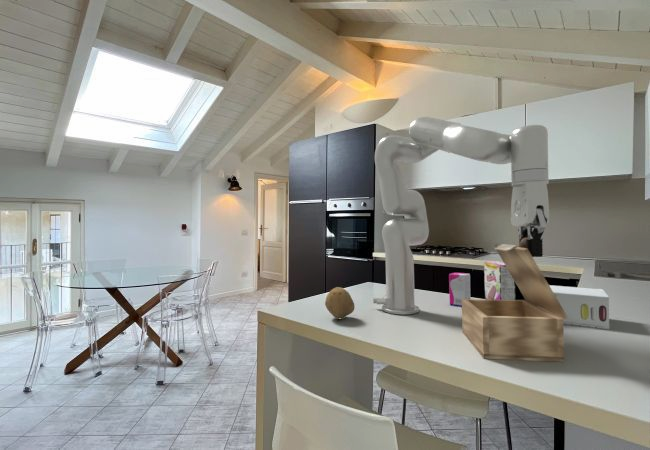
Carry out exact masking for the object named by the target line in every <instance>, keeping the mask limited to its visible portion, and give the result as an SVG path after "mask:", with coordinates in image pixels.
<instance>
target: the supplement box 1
mask: <svg viewBox="0 0 650 450" xmlns="http://www.w3.org/2000/svg"><path fill="white" fill-rule="evenodd" d="M448 283H449V285H448V286H449V288H448V289H449V293H448V294H449V306H454V307H460V308H462V299H472V297H471V296H472V295H471V274H470V273H465V272H452V273H449V274H448Z"/></svg>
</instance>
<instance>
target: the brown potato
mask: <svg viewBox="0 0 650 450" xmlns="http://www.w3.org/2000/svg"><path fill="white" fill-rule="evenodd" d="M324 305H325V308H326V309H327V311H328V312H329V313H330V314H331V315H332V317H333V318H335V319H337V318H343V319H345V318H346V317H347V316H348V315H350V314H352V313H353V312H354V311H355V302H354V300H353V298H352V297H351V295H350V293H349V292H348V291H347V290H346V289H345V288H344V287H341V286H340V287H339V286H336V287H334V288H332V289H331V290H330V291H329V292H328V293H327V295H326V297H325V302H324Z"/></svg>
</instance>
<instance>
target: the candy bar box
mask: <svg viewBox="0 0 650 450" xmlns="http://www.w3.org/2000/svg"><path fill="white" fill-rule="evenodd" d="M483 268H484V269H483V273H484V299H488V300H516V283H515V281H514V279H513V278H512V276H511V274H510V272H509V271H508V269H507V267H506V265H505V264H504V262H503V261H502V262H501V261H483Z"/></svg>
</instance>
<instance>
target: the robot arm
mask: <svg viewBox="0 0 650 450" xmlns="http://www.w3.org/2000/svg"><path fill="white" fill-rule="evenodd" d="M408 134H409V137H405V136H401V135H388V136H384V137H383V138H382V139H380V140H379V142H378V143H377V145H376V148H375V151H374V164H375V167H376V172H377V173H376V174H377V176H378V181H379V188H380V195H381V203H382V208H383V211H384V213H385V214H387V215H390V216H397V217H398V216H401V217H402V216H403V217H404V218H393V219H390V220H387V222H385V223H384V225H383V227H382V230H381V238H382V241H383V246H384V253H385V254H384V256H385V257H384V258H385V292H386V293H385V295H384V296H382V297H373V299H372V301H373V304H376V305H381V309H382V311H383V312H384V313H388V314H392V315H402V316H403V315H405V316H406V315H414V314H418V313H420V307H419V306H418V305H417V304H415V266H414V265H415V262H414V256H413V251H412V250H411V247H412V246H418V245H419V246H420V245H423V244H424V243H426V242H427V240H428V238H429V234H430V229H429V221H428V215H427V207H426V204H425V199H424V196H423V195H422V194H421V193H420V192H419V191H417V190H414V189H408V188H406V185H405V179H404V174H403V172H402V169H401V168H400V167H399V165H398V163H397V162H400V163H406V164H417V163H419V162H421V161H423V160H425V159H427V158H428V157H430V156H431V155H433V154H434V153H437V152H438V151H442V152H445V153H449V154H454V155H457V156H460V157H464V158H467V159H471V160H474V161H478V162H485V163H490V164H494V165H506V164H507V165H508V164H510V166H511V168H510V171H511V178H510V180H511V187H512V193H511V203H510V205H511V206H510V223H511V225H512V226H513V227H516V229H517V231H518V240H519V241H518V244H519V245H518V246H520V241H521V240H522V239H523V238H526V237H528V239H529V240H526V246H527V249H528V250H529V252H530V254H531V255H532V257H533V258H540V257H541V258H542V257H543V255H544V253H543V239H544V232H545V230H546V229H547V227H548V224H549V223H550V204H549V194H548V193H549V191H548V185H549V137H548V136H549V135H548V128H546V126H544V125H540V124H531V125H530V124H529V125H524V126H521V127H518V128H516V129H514V130H512V132H511V134H506V133H501V132H497V131H493V130H490V129H489V130H488V129H483V128H479V127H474V126H469V125H464V124H461V123H460V122H455V121H450V120H444V119H440V118H435V117H430V116H420V117H417V118H416V119H414V120H413V121H412V122H411V123H410V125H409V129H408ZM410 246H411V247H410Z"/></svg>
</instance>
